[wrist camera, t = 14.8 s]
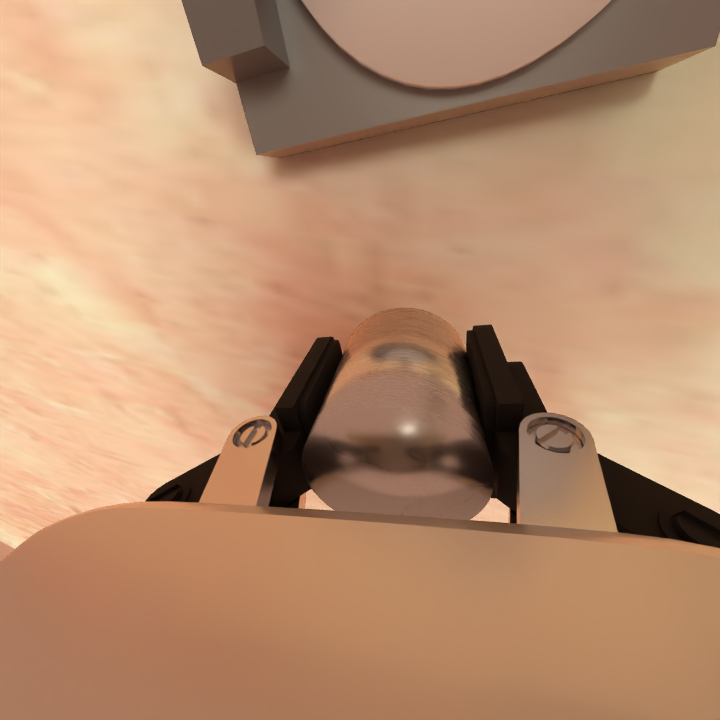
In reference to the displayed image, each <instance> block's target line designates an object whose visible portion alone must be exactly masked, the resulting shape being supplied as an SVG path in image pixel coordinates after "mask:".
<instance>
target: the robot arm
mask: <svg viewBox="0 0 720 720" xmlns="http://www.w3.org/2000/svg"><path fill="white" fill-rule="evenodd" d="M466 354H467V359H468V363H469V368H470V372H471V377H472V381H473V385H474V390H475V394H476V399H477V403H478V408H479V412H480V417H481V421H482V426H483V430H484V435H485V439H486V443H487V448H488V452H489V456H490V461H491V465H492V470H493V474H494V487H493V492H492V495H491V498H497V499H498V500H500V501H501V502H502V503H504V504H505V505H506V506H507V507H509V517H508V523H500V522H486V521H473V520H459V519H445V518H432V517H418V516H403V515H389V514H374V513H359V512H345V511H330V510H315V509H305V503H306V492H307V491H308V490H310V489H312V488H311V487H310V485H309V484H308V482H307V480H306V478H305V475H304V472H303V468H302V452H303V449H304V445H305V443H306V441H307V438H308V436H309V434H310V431H311V429H312V427H313V424H314V422H315V420H316V417H317V415H318V412H319V410H320V408H321V405H322V403H323V401H324V398H325V396H326V394H327V391H328V389H329V387H330V384H331V382H332V380H333V377H334V375H335V372H336V370H337V368H338V365H339V363H340V361H341V358H342V356H343V355H342V351H341V346H340V343H339V341H338V340H334V338H333V337H322V338H317V339H316V341H315V342H314V344H313V345H312V347H311V349H310V350H309V352H308V354H307V355H306V357H305V359H304V360H303V362H302V363H301V365H300V367H299V368H298V370H297V372H296V373H295V375H294V376H293V378H292V380H291V381H290V383H289V385H288V386H287V388H286V389H285V391H284V393H283V394H282V396H281V398H280V399H279V401H278V403H277V404H276V406H275V407H274V409H273V411H272V412H271V414H270V416H257V417H253V418H250V419H248V420H246V421H244V422H242V423H241V424H239V425H238V426H236V427H235V428H234V429H233V430H232V431H231V433H230V435H229V436H228V438H227V440H226V443H225V445H224V447H223V449H222V452H221V454H219V455H217V456H215V457H213V458H211V459H210V460H208V461H206V462H204V463H202V464H200V465H199V466H197V467H195V468H193V469H191V470H189V471H188V472H186V473H184V474H182V475H180V476H178V477H177V478H175V479H173V480H171V481H169V482H167V483H166V484H164V485H163V486H161V487H159V488H158V489H157V490H156V491H155V492H153V493H152V494H151V495H150V496H149V497H148V499H147V500H146V501H145V502H134V503H123V504H117V505H112V506H106V507H101V508H96V509H93V510H89V511H86V512H83V513H80V514H76V515H73V516H70V517H68V518H65V519H63V520H60V521H58V522H56V523H54V524H51V525H49V526H47V527H45V528H43V529H42V530H40V531H38V532H37V533H35V534H34V535H32V536H31V537H30V538H28V539H27V540H26V541H24V542H23V543H22V544H21V545H19V546H18V547H17V548H16V549H15V550H13V552H11V553H10V554H9V555H7V556H6V557H5V558H4V559H3V560H2V561H1V562H0V720H720V514H718V513H716V512H715V511H713V510H711V509H709V508H707V507H705V506H703V505H701V504H699V503H697V502H695V501H693V500H691V499H689V498H687V497H685V496H683V495H681V494H678V493H676V492H674V491H672V490H670V489H668V488H666V487H664V486H662V485H660V484H658V483H656V482H654V481H652V480H650V479H648V478H646V477H644V476H642V475H640V474H638V473H636V472H634V471H632V470H630V469H628V468H626V467H624V466H622V465H620V464H618V463H616V462H614V461H612V460H610V459H608V458H606V457H604V456H602V455H600V454H598V453H597V451H596V447H595V443H594V439H593V437H592V435H591V433H590V432H589V431H588V430H587V429H586V428H585V427H584V426H583V425H582V424H580V423H579V422H577V421H576V420H574V419H572V418H569V417H567V416H564V415H560V414H555V413H547V411H546V409H545V407H544V405H543V403H542V401H541V399H540V397H539V395H538V393H537V391H536V389H535V387H534V385H533V383H532V381H531V379H530V377H529V375H528V373H527V371H526V369H525V367H524V365H523V363H522V362H507V361H506V358H505V356H504V353H503V351H502V349H501V346H500V344H499V341H498V339H497V337H496V334H495V332H494V329H493V327H492V325H480V326H473V330H470V331H467V337H466Z"/></svg>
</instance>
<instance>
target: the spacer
mask: <svg viewBox="0 0 720 720" xmlns="http://www.w3.org/2000/svg"><path fill="white" fill-rule="evenodd" d="M302 468H303V472H304V475H305V478H306V480H307V482H308V484H309V485H310V487H311V488H312V490H313V491H314V492H315V493H316V495H317V496H318V497H319V498H320V499H321V500H322V501H323V502H324V503H326V504H327V505H328V506H329V507H331V508H332V509H333V510H335V511H345V512H359V513H374V514H389V515H403V516H418V517H432V518H445V519H459V520H470V519H471V518H473V517H474V516H476V515H477V514H478V513H479V512H480V511H481V510H482V509H483V508H484V507H485V506H486V504H487V503H488V501H489V500H490V497H491V495H492V492H493V487H494V474H493V470H492V465H491V461H490V456H489V452H488V448H487V443H486V439H485V435H484V430H483V426H482V421H481V417H480V412H479V408H478V403H477V399H476V394H475V390H474V385H473V381H472V377H471V372H470V368H469V363H468V359H467V354H466V350H465V346H464V344H463V341H462V339H461V338H460V336H459V334H458V333H457V332H456V330H455V329H454V328H453V327H452V326H451V325H450V324H449V323H447V322H446V321H445V320H443V319H442V318H440V317H438V316H436V315H434V314H432V313H430V312H427V311H424V310H419V309H413V308H396V309H389V310H386V311H382V312H379V313H377V314H375V315H373V316H371V317H369V318H368V319H366V320H365V321H364V322H363V323H361V324H360V325H359V326H358V327H357V328H356V330H355V331H354V333H353V334H352V336H351V338H350V340H349V342H348V344H347V347H346V349H345V351H344V354H343V356H342V358H341V361H340V363H339V365H338V368H337V370H336V372H335V375H334V377H333V380H332V382H331V384H330V387H329V389H328V391H327V394H326V396H325V398H324V401H323V403H322V405H321V408H320V410H319V412H318V415H317V417H316V420H315V422H314V424H313V427H312V429H311V431H310V434H309V436H308V438H307V441H306V443H305V445H304V449H303V452H302Z"/></svg>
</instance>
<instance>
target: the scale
mask: <svg viewBox="0 0 720 720" xmlns="http://www.w3.org/2000/svg"><path fill="white" fill-rule="evenodd" d="M182 3H183V6H184V10H185V13H186V16H187V19H188V22H189V25H190V28H191V32H192V35H193V38H194V41H195V44H196V47H197V51H198V54H199V57H200V60H201V63H202V66H204V67H206V68H208V69H210V70H212V71H214V72H216V73H218V74H219V75H221V76H223V77H225V78H227V79H229V80H231V81H233V82H235V83H237V87H238V91H239V94H240V98H241V101H242V105H243V108H244V112H245V116H246V119H247V123H248V126H249V130H250V133H251V137H252V140H253V144H254V148H255V151H256V155H262V156H270V157H277V158H281V157H286V156H290V155H294V154H299V153H303V152H307V151H312V150H316V149H320V148H325V147H329V146H333V145H338V144H342V143H346V142H351V141H355V140H359V139H364V138H368V137H372V136H377V135H381V134H385V133H390V132H394V131H398V130H403V129H407V128H411V127H416V126H420V125H424V124H429V123H433V122H437V121H442V120H446V119H450V118H455V117H459V116H464V115H468V114H472V113H477V112H481V111H485V110H490V109H494V108H498V107H503V106H507V105H511V104H516V103H520V102H524V101H529V100H533V99H537V98H542V97H546V96H550V95H555V94H559V93H563V92H568V91H572V90H576V89H581V88H585V87H589V86H594V85H598V84H602V83H607V82H611V81H615V80H620V79H624V78H628V77H633V76H637V75H641V74H646V73H650V72H654V71H659V70H661V69H663V68H666V67H668V66H670V65H672V64H675V63H677V62H679V61H682V60H684V59H686V58H689V57H691V56H693V55H695V54H698V53H700V52H702V51H705V50H707V49H709V48H712V47H714V46H715V45H716V42H717V38H718V35H719V31H720V0H182Z"/></svg>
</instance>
